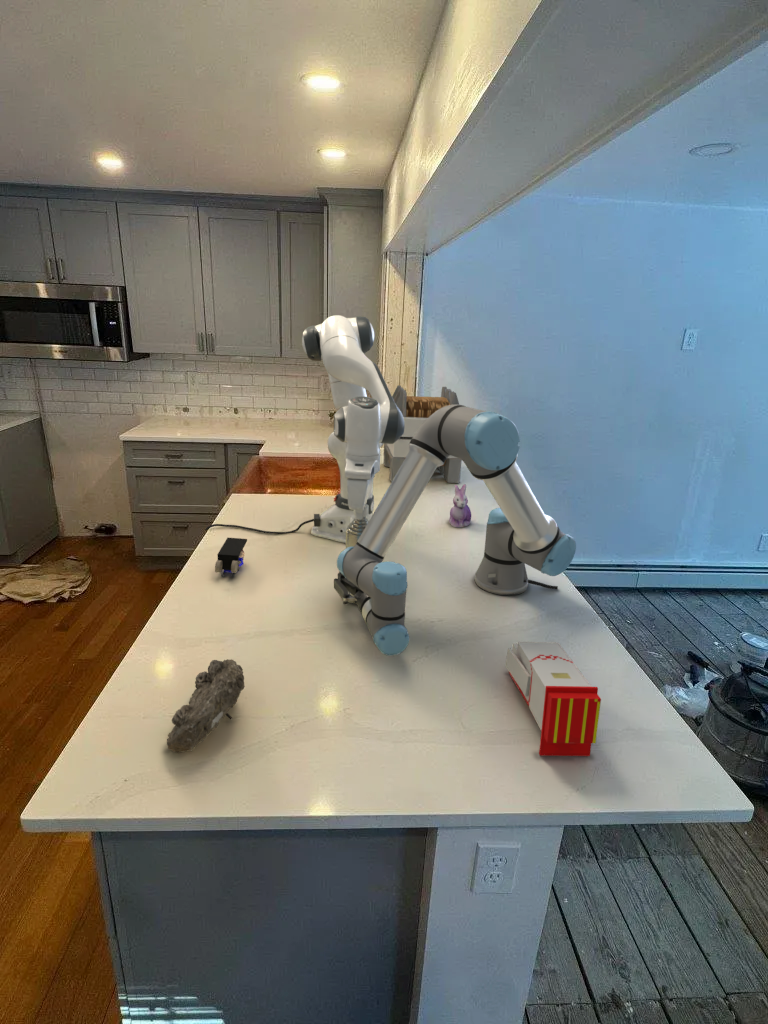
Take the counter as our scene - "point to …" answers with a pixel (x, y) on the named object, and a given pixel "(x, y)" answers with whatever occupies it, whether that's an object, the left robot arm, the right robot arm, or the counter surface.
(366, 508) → the cap
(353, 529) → the silver ridged cylinder
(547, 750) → the toy
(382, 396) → the left robot arm
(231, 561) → the figurine character
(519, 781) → the counter surface
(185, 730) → the fossil
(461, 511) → the figurine
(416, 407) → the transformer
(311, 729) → the counter surface
